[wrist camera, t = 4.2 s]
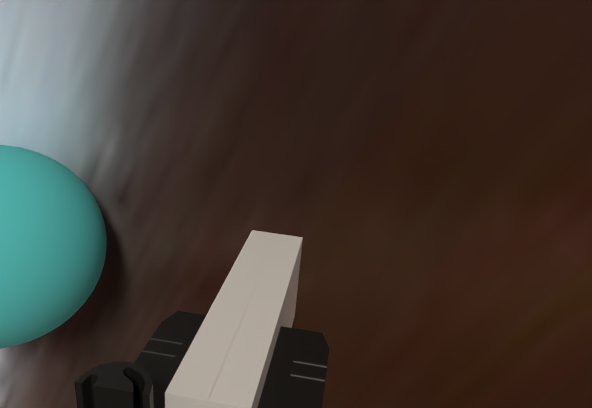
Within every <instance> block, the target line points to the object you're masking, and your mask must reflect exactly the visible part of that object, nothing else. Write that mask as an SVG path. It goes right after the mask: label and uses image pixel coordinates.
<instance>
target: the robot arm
mask: <svg viewBox="0 0 592 408" xmlns="http://www.w3.org/2000/svg"><path fill="white" fill-rule="evenodd" d="M302 239H303V238H302V237H296V236H289V235H282V234H275V233H268V232H261V231H254V230H252V232H251V233H250V235H249V237H248V239H247V241H246V243H245V245H244V246H243V248H242V250H241V252H240V254H239V256H238V258H237V259H236V261H235V263H234V265H233V267H232V269H231V271H230V273H229V274H228V276H227V278H226V280H225V282H224V284H223V286H222V287H221V289H220V291H219V293H218V295H217V297H216V299H215V300H214V302H213V304H212V306H211V308H210V310H209V312H208V313H207V315H200V314H194V313H188V312H182V311H177V312H176V313H174V314H173V315H171V316H170V317H168V318H167V319H165V320H164V321H163V322H161V324H160V325H159V327H158V328H157V330H156V331H155V333H154V334H153V336H152V338H151V340H149V342H148V343H147V345H146V346H145V348H144V349H143V352H141V354H140V355H139V357H138V358H137V360H136V361H135V363H134V364H133V363H130V362H112V363H107V364H103V365H99V366H97V367H95V368H93V369H91V370H89V371H87V372H85V373H84V374H83V375H82V376H81V377H79V378H78V379H77V380H76V381H75V390H76V399H77V408H322V401H323V393H324V386H325V378H326V370H327V362H328V354H329V347H328V345H327V343H326V340H325V338H324V336H323V334H322V333H319V332H313V331H307V330H300V329H294V328H292V324H293V320H294V316H295V307H296V297H297V287H298V278H299V268H300V259H301V249H302Z"/></svg>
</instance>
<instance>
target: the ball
mask: <svg viewBox="0 0 592 408" xmlns="http://www.w3.org/2000/svg"><path fill="white" fill-rule="evenodd" d="M106 249H107V235H106V228H105V223H104V219H103V216H102V213H101V210H100V208H99V206H98V204H97V202H96V200H95V198H94V197H93V195H92V193H91V192H90V190H89V189H88V188H87V186H86V185H85V184H84V183H83V182H82V181H81V180H80V179H79V178H78V177H77V176H76V175H75V174H74V173H73V172H72V171H70V170H69V169H68V168H66V167H65V166H63V165H62V164H60V163H59V162H57V161H55V160H53V159H51V158H50V157H47V156H45V155H43V154H40V153H38V152H35V151H31V150H28V149H24V148H20V147H13V146H6V145H0V348H6V347H11V346H17V345H20V344H23V343H26V342H30V341H32V340H34V339H37V338H39V337H41V336H43V335H45V334H47V333H49V332H51V331H52V330H54V329H55V328H57V327H59V326H60V325H62V324H63V323H64V322H65V321H67V320H68V319H69V318H71V317H72V316H73V315H74V314H75V313H76V312H77V311H78V310H79V309H80V308H81V306H82V305H83V304H84V303H85V302H86V300H87V299H88V298H89V296H90V295H91V293H92V292H93V290H94V288H95V286H96V284H97V282H98V281H99V278H100V276H101V273H102V270H103V267H104V263H105V258H106Z"/></svg>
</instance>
